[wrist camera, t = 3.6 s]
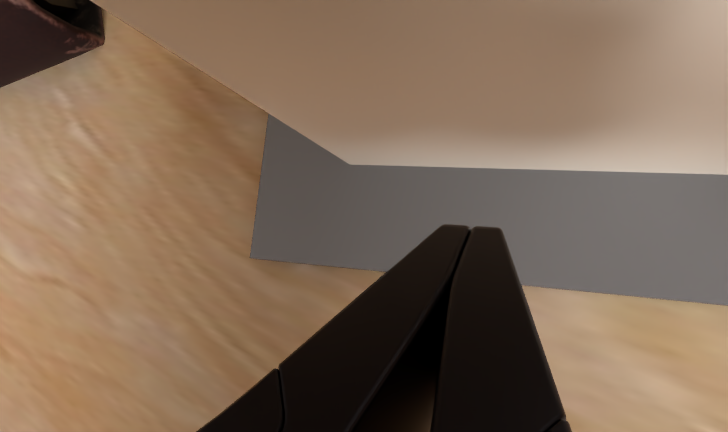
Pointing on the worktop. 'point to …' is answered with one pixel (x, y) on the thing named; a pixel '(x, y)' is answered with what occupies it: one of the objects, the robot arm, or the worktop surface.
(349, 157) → the white rectangular block
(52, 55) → the diary
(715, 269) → the mat
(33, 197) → the worktop surface
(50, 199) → the worktop surface
